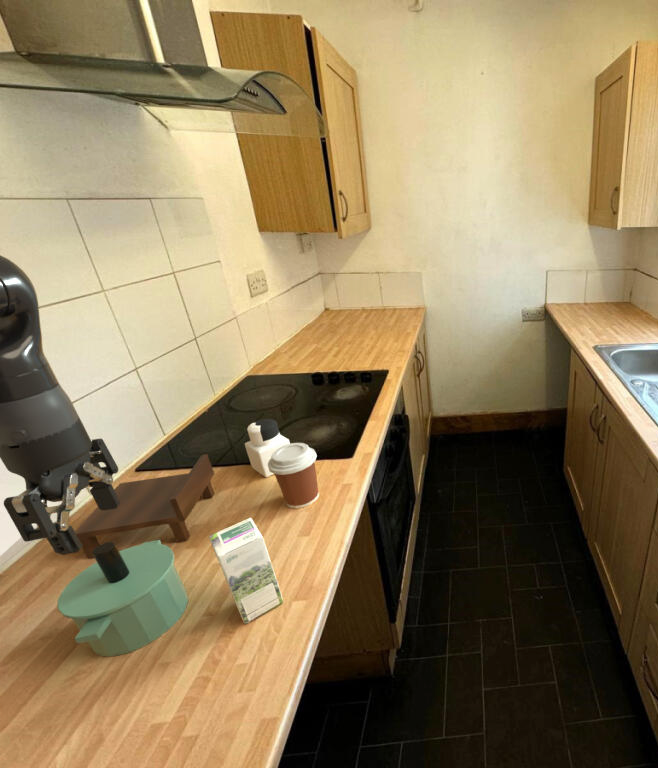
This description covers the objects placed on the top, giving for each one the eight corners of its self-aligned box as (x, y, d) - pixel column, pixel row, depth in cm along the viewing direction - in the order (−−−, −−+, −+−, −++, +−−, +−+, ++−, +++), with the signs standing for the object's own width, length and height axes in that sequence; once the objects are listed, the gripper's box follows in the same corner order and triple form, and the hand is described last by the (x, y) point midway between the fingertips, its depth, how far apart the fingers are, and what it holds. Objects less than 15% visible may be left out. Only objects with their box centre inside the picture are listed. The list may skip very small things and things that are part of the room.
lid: (36, 633, 54) (9, 597, 51) (96, 558, 65) (78, 525, 62) (151, 609, 57) (132, 574, 54) (190, 541, 68) (176, 509, 66)
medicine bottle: (281, 454, 106) (269, 413, 101) (295, 464, 102) (284, 421, 97) (251, 468, 100) (237, 425, 95) (266, 478, 96) (252, 434, 92)
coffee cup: (302, 517, 85) (289, 468, 80) (269, 506, 88) (254, 459, 83) (334, 490, 92) (324, 444, 88) (302, 481, 95) (291, 436, 90)
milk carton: (273, 581, 70) (250, 514, 64) (285, 603, 66) (262, 534, 61) (235, 602, 67) (207, 533, 61) (245, 627, 63) (216, 556, 57)
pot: (58, 686, 55) (27, 644, 52) (128, 582, 70) (107, 545, 67) (159, 662, 58) (136, 621, 55) (206, 567, 73) (190, 530, 70)
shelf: (85, 560, 75) (60, 516, 71) (131, 506, 88) (112, 467, 84) (193, 540, 79) (175, 498, 75) (221, 491, 92) (207, 453, 88)
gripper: (40, 404, 56) (92, 500, 62) (-61, 463, 43) (17, 576, 50) (107, 397, 57) (150, 491, 64) (29, 452, 45) (93, 562, 52)
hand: (92, 528), depth 57 cm, fingers open, 8 cm apart
